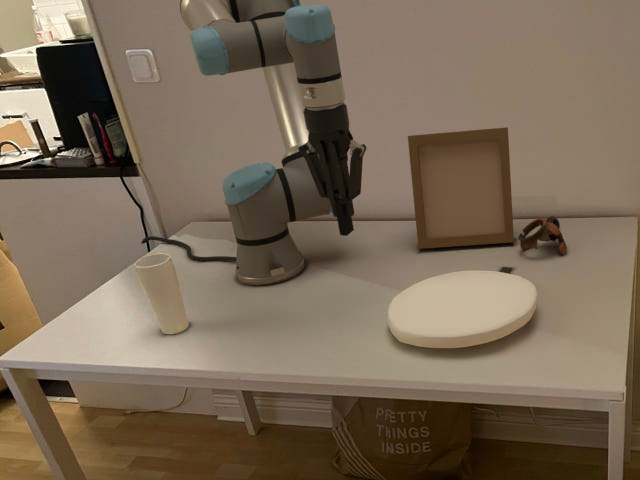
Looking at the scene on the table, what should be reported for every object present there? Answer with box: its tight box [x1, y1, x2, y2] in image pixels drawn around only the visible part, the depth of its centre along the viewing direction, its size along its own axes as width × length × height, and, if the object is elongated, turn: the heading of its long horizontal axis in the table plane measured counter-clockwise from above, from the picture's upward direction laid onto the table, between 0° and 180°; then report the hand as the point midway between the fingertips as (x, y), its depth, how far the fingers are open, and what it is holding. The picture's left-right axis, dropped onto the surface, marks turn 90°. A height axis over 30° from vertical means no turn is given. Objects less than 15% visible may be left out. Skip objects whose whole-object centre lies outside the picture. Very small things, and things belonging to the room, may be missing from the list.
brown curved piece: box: [517, 215, 568, 256], centre depth 157 cm, size 12×10×8 cm
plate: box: [386, 269, 538, 349], centre depth 133 cm, size 28×6×27 cm
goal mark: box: [499, 266, 513, 274], centre depth 149 cm, size 2×8×1 cm, turn 158°
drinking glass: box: [134, 252, 189, 335], centre depth 139 cm, size 7×7×15 cm
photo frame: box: [407, 126, 515, 250], centre depth 163 cm, size 15×22×25 cm
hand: (347, 232), depth 136 cm, fingers closed
